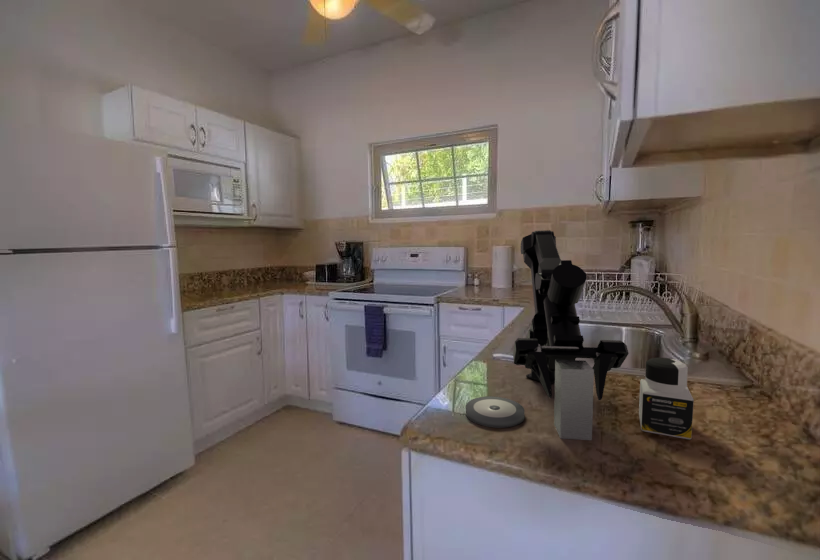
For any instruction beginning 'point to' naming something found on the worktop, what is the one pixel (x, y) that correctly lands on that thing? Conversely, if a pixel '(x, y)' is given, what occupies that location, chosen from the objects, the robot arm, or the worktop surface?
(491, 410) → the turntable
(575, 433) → the block
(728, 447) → the worktop surface
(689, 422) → the medicine bottle
